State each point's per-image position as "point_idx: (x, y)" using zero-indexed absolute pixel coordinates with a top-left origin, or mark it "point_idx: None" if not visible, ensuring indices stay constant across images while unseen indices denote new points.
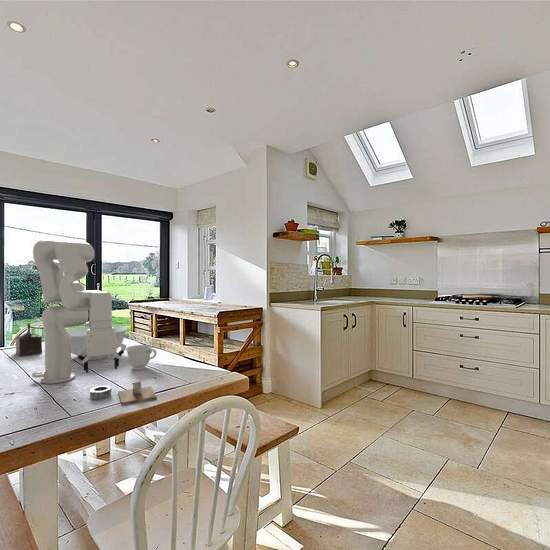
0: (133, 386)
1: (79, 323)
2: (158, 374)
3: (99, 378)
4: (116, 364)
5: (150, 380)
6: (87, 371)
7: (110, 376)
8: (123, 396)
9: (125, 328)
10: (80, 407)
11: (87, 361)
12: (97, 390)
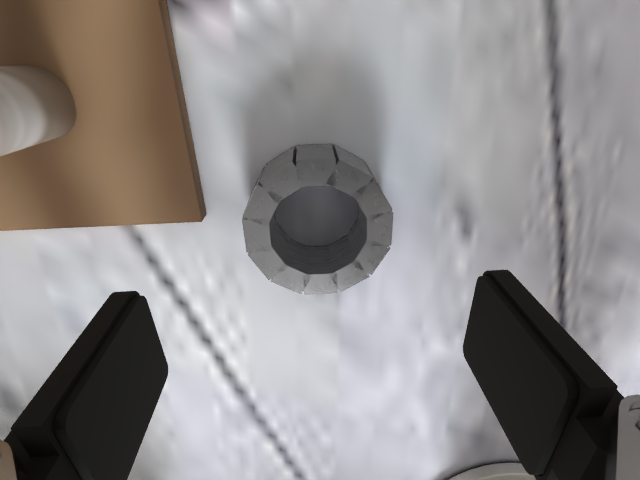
0: (9, 90)
1: None
2: (3, 439)
3: (320, 468)
4: (89, 336)
5: (29, 370)
6: (498, 280)
7: (268, 477)
8: (146, 88)
9: None
10: (455, 50)
11: (552, 450)
12: (338, 257)
